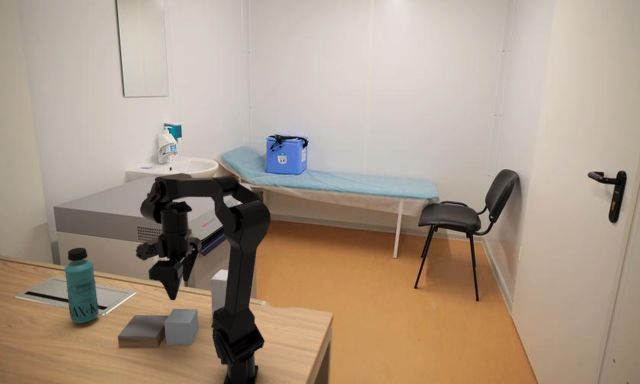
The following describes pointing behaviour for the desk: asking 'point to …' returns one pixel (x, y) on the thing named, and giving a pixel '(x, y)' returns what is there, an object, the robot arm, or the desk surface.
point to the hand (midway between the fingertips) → (179, 290)
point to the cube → (181, 326)
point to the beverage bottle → (81, 287)
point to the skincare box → (218, 289)
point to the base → (143, 332)
